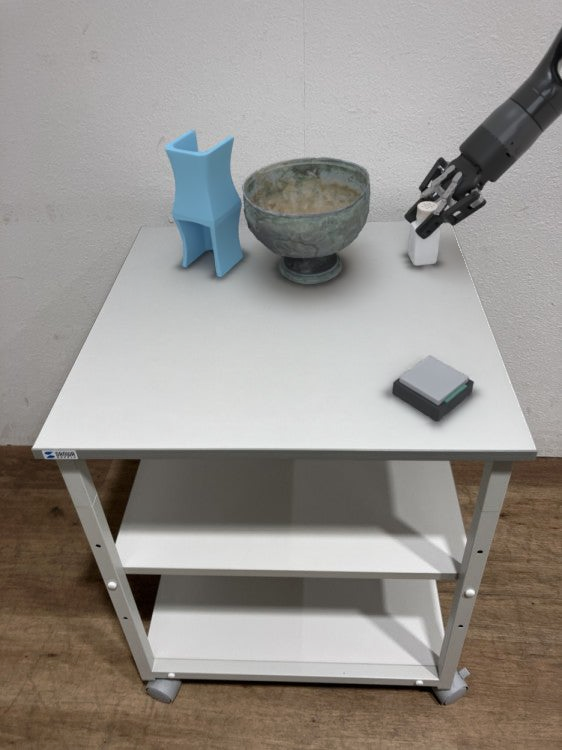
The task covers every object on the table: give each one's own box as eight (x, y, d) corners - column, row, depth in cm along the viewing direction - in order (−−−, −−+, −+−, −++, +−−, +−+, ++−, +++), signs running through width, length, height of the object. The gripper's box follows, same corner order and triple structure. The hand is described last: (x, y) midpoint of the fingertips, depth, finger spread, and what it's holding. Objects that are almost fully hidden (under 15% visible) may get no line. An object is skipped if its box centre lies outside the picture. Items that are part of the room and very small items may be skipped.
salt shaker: (413, 267, 100) (418, 213, 93) (406, 254, 103) (411, 201, 96) (437, 264, 100) (444, 210, 93) (430, 252, 103) (437, 198, 96)
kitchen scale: (471, 393, 78) (475, 376, 76) (437, 421, 74) (439, 405, 73) (426, 367, 82) (429, 351, 80) (392, 393, 78) (393, 377, 77)
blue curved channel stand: (246, 254, 105) (234, 136, 92) (221, 277, 100) (204, 156, 87) (208, 244, 108) (191, 129, 95) (182, 266, 104) (160, 148, 90)
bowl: (271, 231, 111) (265, 148, 101) (378, 244, 105) (383, 158, 95) (229, 292, 97) (217, 203, 87) (349, 311, 92) (352, 219, 82)
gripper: (464, 108, 93) (383, 195, 100) (510, 143, 83) (415, 237, 90) (491, 138, 98) (411, 220, 104) (538, 176, 87) (445, 263, 94)
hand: (414, 227), depth 97 cm, fingers closed on salt shaker, 4 cm apart
